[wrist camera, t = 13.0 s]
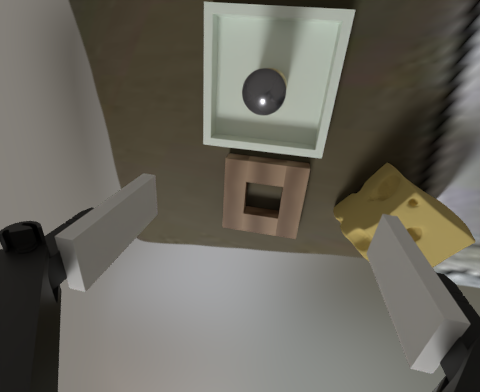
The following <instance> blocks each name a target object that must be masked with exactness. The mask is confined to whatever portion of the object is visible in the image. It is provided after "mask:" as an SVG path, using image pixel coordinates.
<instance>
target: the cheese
mask: <svg viewBox="0 0 480 392" xmlns="http://www.w3.org/2000/svg"><path fill="white" fill-rule="evenodd" d="M382 214H386V215H392V216H398V218H399V219H400V221H401V222H402V224H403V225H404V227H405V228H406V230H407V231H408V233H409V234H410V236H411V237H412V238H413V240H414V241H415V243H416V244H417V246H418V247H419V249H420V250H421V252H422V253H423V255H424V256H425V258H426V259H427V261H428V262H429V263H430V265H431V266H432V268H433V267H434V266H436V265H437V264H439V263H441V262H442V261H444V260H445V259H447V258H448V257H450V256H452V255H453V254H455V253H457V252H459V251H460V250H462V249H464V248H466V247H467V246H469V245H471V244H473V243H475V239H474V238H473V236H472V234H471V232H470V230H469V229H468V227H467V226H466V224H465V223H464V222H463V221H462V220H461V219H460V218H459V217H458V216H457V215H456V214H455V213H453V212H452V211H451V210H450V209H449V208H448V207H446V206H445V205H444V204H442V203H441V202H440V201H438V200H437V199H435V198H434V197H432V196H430V195H429V194H427V193H425V192H424V191H422V190H421V189H420V188H418V187H417V186H415V185H414V184H413V183H411V182H410V181H409V180H407V179H406V178H405V177H404V176H403V175H402V174H401V173H400V172H399V171H398V170H397V169H396V168H395V167H394V166H392V165H391V164H389V163H386V164H385V165H383V166H382V167H381V168H380V169H379V170H378V171H377V172H376V173H374V174H373V175H372V176H371V177H370V178H369V179H368V180H367V181H366V182H365V183H364V185H363V187H362V189H361V190H360V191H359V192H357V193H356V194H355V193H352V194H350V195H349V196H348V197H346V198H345V199H344V200H343V201H341V202H340V203H338V204H337V205H336V206H335V207H334V215H335V217H336V219H337V220H338V221H339V222H340V223H341V225H340V228H341V231H342V233H343V234H344V235H345V237H346V238H348V239H349V240H350V241H351V242H352V243H353V245H354V246H355V247H356V248H357V250H358V251H359V252H360V253H361V254H362V256H363V257H364V258H365V259H367V260H368V261H369V259H368V257H367V254H366V253H367V251H368V248H369V246H370V243H371V241H372V238H373V236H374V234H375V231H376V229H377V226H378V224H379V221H380V219H381V216H382Z"/></svg>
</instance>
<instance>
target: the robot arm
mask: <svg viewBox="0 0 480 392" xmlns="http://www.w3.org/2000/svg"><path fill="white" fill-rule="evenodd" d="M157 214H158V212H157V196H156V180H155V175H150V174H144V173H143V174H142V175H141V176H139V177H138V178H136V179H135V180H133V181H132V182H131V183H129V184H128V185H126V186H125V187H124V188H122V189H121V190H119V191H118V192H117V193H115V194H114V195H112V196H111V197H109V198H108V199H107V200H105V201H104V202H102V203H101V204H100V205H98V206H97V207H95V208H89V209H87V210H84V211H81V212H80V213H78V214H77V215H75V216H74V217H73V218H72V219H69V220H68V221H66V223H64V224H62V225H61V226H59V227H58V228H56V229H55V230H53V231H52V232H51V233H49V234H47V235H46V236H44V233H43V230H42V227H41V224H40V223H38V222H34V221H26V222H19V223H15V224H12V225H9V226H7V227H5V228H4V229H2V230H1V231H0V242H1V245H2V247H3V249H1V250H0V392H58V368H59V340H60V313H61V288H60V284H61V283H62V282H63V281H64V280H65V279H66V278H67V281H68V285H69V288H71V289H75V290H79V291H84V292H86V291H87V290H88V289H89V288H90V287H91V285H92V284H93V283H94V282H95V281H96V280H97V279H98V278H99V277H100V276H101V275H102V274H103V272H104V271H105V270H106V269H107V268H108V267H109V266H110V265H111V264H112V263H113V262H114V261H115V260H116V259H117V258H118V256H119V255H120V254H121V253H122V252H123V251H124V250H125V249H126V248H127V247H128V246H129V244H131V242H132V241H133V240H134V239H135V238H136V237H137V236H138V235H139V234H140V233H141V232H142V231H143V230H144V228H145V227H146V226H147V225H148V224H149V223H150V222H151V221H152V220H153V219H154V218H155V217H156V215H157ZM366 254H367V257H368V259H369V262H370V264H371V267H372V270H373V272H374V275H375V278H376V280H377V283H378V286H379V288H380V291H381V293H382V296H383V299H384V301H385V304H386V306H387V309H388V312H389V314H390V317H391V320H392V322H393V325H394V327H395V330H396V333H397V335H398V338H399V341H400V343H401V346H402V348H403V351H404V354H405V357H406V359H407V362H408V364H409V367H410V369H414V370H418V371H423V372H427V373H431V374H433V372H434V371H435V370H436V369H437V367H438V366H439V365H440V364H441V366H442V368H443V370H444V372H445V374H446V376H445V377H444V378H443V380H442V381H441V382H440V383H439V384H438V386H437V387H436V388H435V389H434V391H433V392H480V317H479V315H478V314H477V313H476V311H475V310H474V309H473V307H472V306H471V305H470V304H469V302H468V300H467V299H466V298H465V296H463V294H462V292H461V291H460V290H459V288H458V287H457V285H456V284H455V283H454V282H453V281H451V280H450V279H449V278H448V277H447V276H445V275H444V274H441V273H436V272H435V271H434V269H433V268H432V266H431V265H430V263H429V262H428V261H427V259H426V258H425V256H424V255H423V253H422V252H421V250H420V249H419V247H418V246H417V244H416V243H415V241H414V240H413V238H412V237H411V236H410V234H409V233H408V231H407V230H406V228H405V227H404V225H403V224H402V222H401V221H400V219H399V218H398V216H392V215H386V214H382V216H381V219H380V221H379V224H378V226H377V229H376V231H375V234H374V236H373V238H372V241H371V243H370V246H369V248H368V251H367V253H366Z"/></svg>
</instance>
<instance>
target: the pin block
mask: <svg viewBox="0 0 480 392" xmlns="http://www.w3.org/2000/svg"><path fill="white" fill-rule="evenodd" d="M309 173H310V164H309V163H306V162H298V161H289V160H281V159H273V158H265V157H257V156H249V155H241V154H233V153H229V154H228V156H227V157H226V161H225V183H224V205H223V227H224V228H230V229H236V230H243V231H249V232H255V233H261V234H268V235H274V236H280V237H286V238H293V239H296V235H297V230H298V226H299V221H300V216H301V211H302V207H303V202H304V197H305V192H306V188H307V183H308V178H309ZM248 182H251V183H258V184H265V185H273V186H280V187H283V188H282V194H281V200H280V206H279V211H277V210H270V209H264V208H257V207H250V206H246V197H247V187H248Z"/></svg>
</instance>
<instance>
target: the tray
mask: <svg viewBox="0 0 480 392" xmlns="http://www.w3.org/2000/svg"><path fill="white" fill-rule="evenodd" d="M354 14H355V10H350V9H331V8H312V7H293V6H274V5H255V4H236V3H217V2H204V142H203V144H206V145H214V146H222V147H230V148H239V149H247V150H255V151H263V152H272V153H280V154H288V155H296V156H305V157H313V158H321V159H322V155H323V150H324V146H325V142H326V137H327V133H328V128H329V124H330V120H331V115H332V111H333V106H334V102H335V98H336V93H337V89H338V84H339V80H340V76H341V71H342V67H343V62H344V58H345V54H346V49H347V45H348V40H349V36H350V32H351V27H352V23H353V18H354ZM262 68H275V69H278V70H280V71H281V72H282V73H283V74H284V75H285V77H286V81H287V88H286V97H285V100H284V102H283V104H282V106H281V107H280V108H279V109H278V110H277V111H276V112H274V113H272V114H270V115H264V116H263V115H257V114H255V113H253V112H251V111H250V110H249V109H248V108H247V107H246V105H245V103H244V101H243V97H242V88H243V84H244V82H245V80H246V78H247V77H248V76H249V75H250V74H251V73H252V72H254V71H255V70H258V69H262Z"/></svg>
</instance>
